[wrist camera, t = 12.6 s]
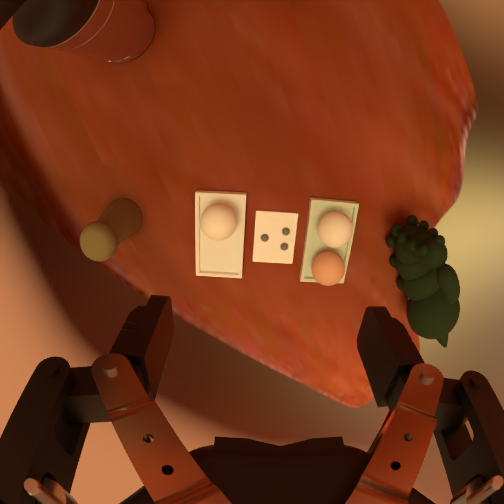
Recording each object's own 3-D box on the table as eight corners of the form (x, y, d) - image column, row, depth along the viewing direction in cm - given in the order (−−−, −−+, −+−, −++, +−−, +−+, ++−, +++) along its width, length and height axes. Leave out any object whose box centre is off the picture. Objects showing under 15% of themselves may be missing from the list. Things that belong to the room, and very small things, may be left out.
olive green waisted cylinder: (143, 201, 44) (114, 228, 35) (140, 238, 47) (114, 272, 37) (107, 195, 44) (72, 220, 34) (106, 232, 47) (74, 263, 37)
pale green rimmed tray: (310, 197, 44) (311, 199, 43) (356, 201, 44) (358, 204, 43) (299, 277, 50) (300, 281, 49) (341, 279, 50) (343, 283, 49)
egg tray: (196, 190, 44) (195, 192, 43) (246, 192, 44) (246, 194, 43) (197, 271, 49) (196, 275, 48) (242, 274, 49) (241, 278, 48)
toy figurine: (361, 223, 47) (407, 333, 54) (408, 273, 30) (445, 402, 37) (410, 196, 45) (447, 310, 52) (476, 231, 28) (495, 370, 35)
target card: (256, 209, 45) (256, 212, 44) (297, 212, 45) (298, 215, 44) (252, 259, 49) (252, 263, 48) (291, 262, 49) (292, 265, 48)
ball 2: (316, 205, 44) (323, 217, 40) (350, 208, 44) (360, 220, 40) (312, 238, 46) (318, 252, 42) (344, 240, 46) (353, 254, 42)
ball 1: (203, 198, 44) (197, 209, 39) (238, 200, 44) (236, 211, 39) (203, 231, 46) (197, 245, 41) (237, 233, 46) (235, 247, 41)
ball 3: (311, 244, 47) (317, 260, 42) (343, 246, 47) (352, 262, 42) (306, 274, 49) (311, 291, 44) (337, 275, 49) (345, 292, 44)
